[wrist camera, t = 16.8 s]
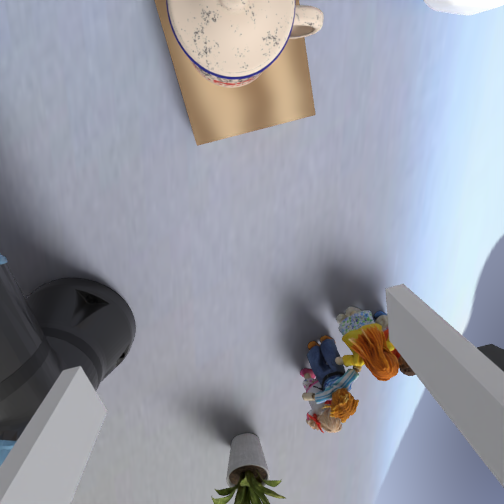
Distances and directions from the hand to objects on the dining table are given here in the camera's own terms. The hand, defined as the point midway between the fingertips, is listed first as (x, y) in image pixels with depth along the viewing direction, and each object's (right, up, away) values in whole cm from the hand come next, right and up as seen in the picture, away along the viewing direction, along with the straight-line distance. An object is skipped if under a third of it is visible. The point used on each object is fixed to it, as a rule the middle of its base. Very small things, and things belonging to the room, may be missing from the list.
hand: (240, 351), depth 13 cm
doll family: (+13, -9, +36) cm, 40 cm away
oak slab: (-1, +25, +21) cm, 33 cm away
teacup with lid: (0, +25, +17) cm, 30 cm away
